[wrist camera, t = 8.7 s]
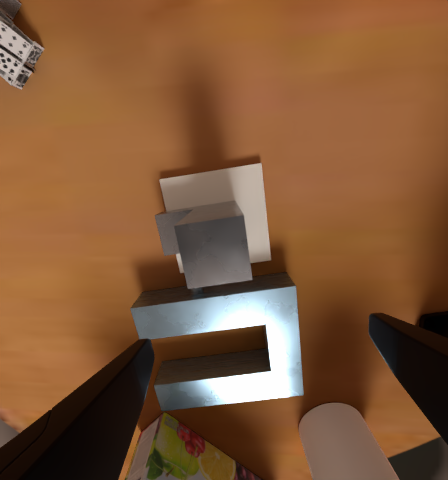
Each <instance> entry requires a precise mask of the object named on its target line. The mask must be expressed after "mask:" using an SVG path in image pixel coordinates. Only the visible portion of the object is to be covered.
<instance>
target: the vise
mask: <svg viewBox="0 0 448 480" xmlns="http://www.w3.org/2000/svg"><path fill="white" fill-rule="evenodd" d="M130 309H131V313H132V316H133V319H134V322H135V326H136V329H137V332H138V336H139V339H145V338H149V339H157V338H164V337H172V336H180V335H188V334H195V333H203V332H211V331H219V330H226V329H234V328H242V327H250V326H257V325H263V330H264V338H265V347H266V349H259V350H251V351H243V352H235V353H227V354H219V355H211V356H203V357H195V358H187V359H179V360H171V361H163V362H162V363H161V366H160V369H159V372H158V375H157V378H156V381H155V384H154V388H155V391H156V395H157V398H158V401H159V404H160V408H161V411H168V410H177V409H186V408H195V407H203V406H212V405H221V404H230V403H238V402H247V401H256V400H265V399H273V398H282V397H291V396H300V395H304V392H303V378H302V364H301V350H300V336H299V322H298V308H297V294H296V285H295V284H294V283H293V281H292V280H291V278H290V277H289V275H288V274H287V272H284V273H276V274H269V275H262V276H255V277H252V280H248V281H241V282H234V283H227V284H220V285H213V286H206V287H199V288H192V289H188V288H187V286H183V287H176V288H169V289H161V290H154V291H147V292H142V294H141V295H140V296H139V298H138V299H137V300H136V302H135V303H134V304H133V306H132V307H131V308H130Z"/></svg>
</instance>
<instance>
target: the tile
mask: <svg viewBox="0 0 448 480" xmlns="http://www.w3.org/2000/svg"><path fill="white" fill-rule="evenodd" d="M159 181H160V185H161V190H162V194H163V198H164V203H165V207H166V211H171V210H177V209H183V208H190V207H196V206H202V205H209V204H215V203H221V202H228V201H234V200H235V201H236V203H237V204H238V206H239V208H240V209H241V211H242V213H243V214H244V219H245V227H246V234H247V242H248V250H249V257H250V263H256V262H263V261H270V260H271V253H270V244H269V234H268V224H267V214H266V204H265V194H264V184H263V174H262V164H261V163H258V164H252V165H246V166H240V167H233V168H227V169H221V170H215V171H209V172H202V173H196V174H190V175H184V176H178V177H171V178H165V179H159ZM176 257H177V261H178V265H179V270H180V273H184V270H183V265H182V261H181V256H180V253H179V254H176Z"/></svg>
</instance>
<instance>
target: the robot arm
mask: <svg viewBox="0 0 448 480" xmlns="http://www.w3.org/2000/svg"><path fill="white" fill-rule="evenodd" d="M369 335H370V338H371V339H372V341H373V342H374V344H375V346H376V347H377V349H378V350H379V352H380V353H381V355H382V357H383V358H384V360H385V361H386V363H387V364H388V366H389V368H390V369H391V371H392V372H393V374H394V375H395V377H396V378H397V379H398V381H399V382H400V383H401V385H402V386H403V387H404V389H405V390H406V391H407V393H408V394H409V395H410V396H411V398H412V399H413V400H414V402H415V403H416V404H417V406H418V407H419V408H420V410H421V411H422V412H423V413H424V415H425V416H426V417H427V419H428V420H429V421H430V423H431V424H432V425H433V427H434V428H435V429H436V430H437V432H438V433H439V434H440V436H441V437H442V438H443V440H444V441H445V442H446V443H447V445H448V312H440V313H433V314H425V315H423V316H422V317H421V319H420V327H417V326H415V325H412V324H410V323H407V322H405V321H402V320H399V319H397V318H394V317H392V316H389V315H386V314H384V313H372V314H370V316H369ZM153 363H154V351H153V347H152V344H151V341H150V339H149V338H145V339H139V340H138V341H136V342H135V343H134V344H133V345H131V346H130V347H129V348H128V349H126V350H125V351H124V352H122V353H121V354H120V355H119V356H117V357H116V358H115V359H114V360H112V361H111V362H110V363H109V364H107V365H106V366H105V367H104V368H102V369H101V370H100V371H98V372H97V373H96V374H95V375H93V376H92V377H91V378H90V379H88V380H87V381H86V382H85V383H83V384H82V385H81V386H79V387H78V388H77V389H76V390H74V391H73V392H72V393H71V394H69V395H68V396H67V397H66V398H64V399H63V400H62V401H60V402H59V403H58V404H57V405H55V406H54V407H53V408H52V410H49V411H48V412H47V413H45V414H44V415H43V416H42V417H40V418H39V419H38V420H36V421H35V422H34V423H33V424H31V425H30V426H29V427H27V428H26V429H25V430H23V431H22V432H21V433H20V434H18V435H17V436H16V437H15V438H13V439H12V440H10V441H9V442H7V443H6V444H5V445H4V446H2V447H1V448H0V480H118V479H119V476H120V473H121V470H122V467H123V464H124V461H125V458H126V455H127V452H128V449H129V446H130V443H131V440H132V437H133V434H134V431H135V428H136V425H137V422H138V419H139V416H140V413H141V410H142V407H143V404H144V401H145V397H146V393H147V389H148V385H149V380H150V376H151V372H152V368H153Z"/></svg>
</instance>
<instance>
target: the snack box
mask: <svg viewBox="0 0 448 480" xmlns="http://www.w3.org/2000/svg"><path fill="white" fill-rule="evenodd" d="M125 480H262V479H260V478H259V477H257V476H256V475H255V474H253V473H252V472H250V471H249V470H247V469H246V468H244V467H243V466H242V465H240V464H239V463H237V462H236V461H235V460H233V459H232V458H230V457H229V456H227V455H226V454H225V453H223V452H222V451H220V450H219V449H217V448H216V447H215V446H213V445H212V444H210V443H209V442H207V441H206V440H205V439H203V438H202V437H200V436H199V435H197V434H196V433H195V432H193V431H192V430H190V429H189V428H187V427H186V426H185V425H183V424H182V423H180V422H179V421H177V420H176V419H175V418H173V417H172V416H170V415H169V414H167V413H165V412H163V413H162V414H161V415H160V416H159V417H158V418H157V419H156V420H155V421H154V422H152V423H151V424H150V425H149V426H148V427H147V428H146V429H144V430H143V431H142V432H141V433H140V436H139V439H138V441H137V444H136V447H135V450H134V453H133V456H132V459H131V462H130V465H129V468H128V471H127V474H126V477H125Z"/></svg>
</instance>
